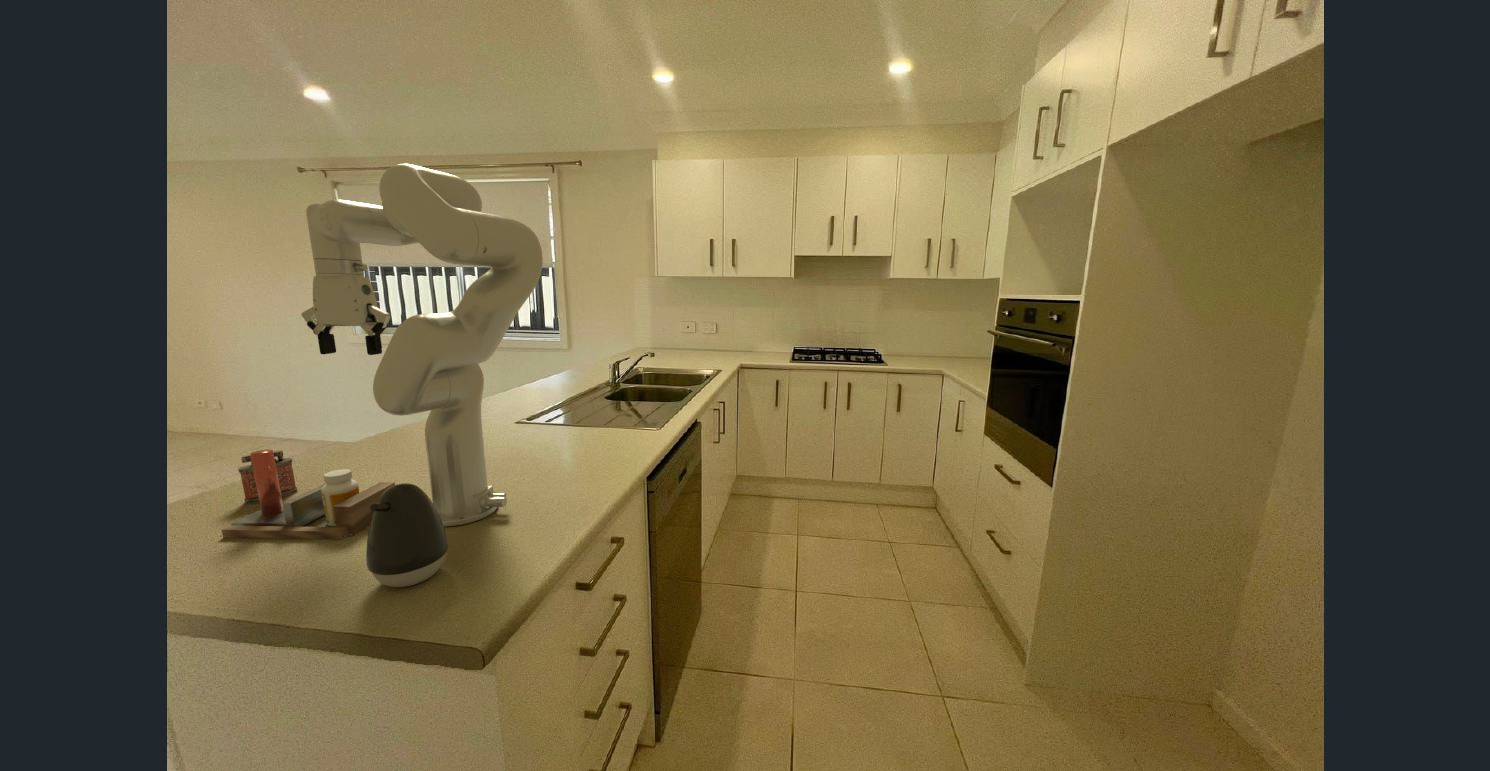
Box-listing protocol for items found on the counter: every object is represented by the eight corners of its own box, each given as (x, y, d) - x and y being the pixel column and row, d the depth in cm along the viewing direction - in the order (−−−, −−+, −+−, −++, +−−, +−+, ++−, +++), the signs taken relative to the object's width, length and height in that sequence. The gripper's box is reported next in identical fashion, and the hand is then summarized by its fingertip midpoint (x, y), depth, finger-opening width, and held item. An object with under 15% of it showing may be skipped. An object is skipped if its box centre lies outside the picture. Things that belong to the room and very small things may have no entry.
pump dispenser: (350, 596, 68) (335, 498, 65) (405, 557, 78) (393, 470, 76) (419, 600, 68) (406, 501, 65) (464, 560, 78) (455, 473, 75)
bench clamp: (403, 504, 98) (400, 479, 97) (347, 539, 84) (342, 510, 83) (296, 503, 98) (292, 478, 97) (223, 537, 84) (217, 508, 83)
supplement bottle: (370, 514, 93) (363, 468, 91) (345, 528, 88) (337, 478, 86) (345, 513, 94) (338, 466, 92) (318, 526, 88) (310, 477, 87)
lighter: (295, 488, 105) (287, 445, 103) (299, 492, 103) (291, 448, 101) (243, 501, 98) (234, 455, 96) (246, 505, 96) (237, 458, 94)
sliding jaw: (337, 507, 95) (327, 445, 93) (295, 529, 86) (282, 461, 84) (279, 507, 95) (268, 444, 93) (232, 529, 86) (217, 460, 84)
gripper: (396, 271, 99) (406, 352, 102) (313, 270, 99) (326, 351, 102) (368, 269, 92) (379, 356, 95) (278, 268, 92) (293, 355, 95)
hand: (351, 353), depth 99 cm, fingers open, 9 cm apart
